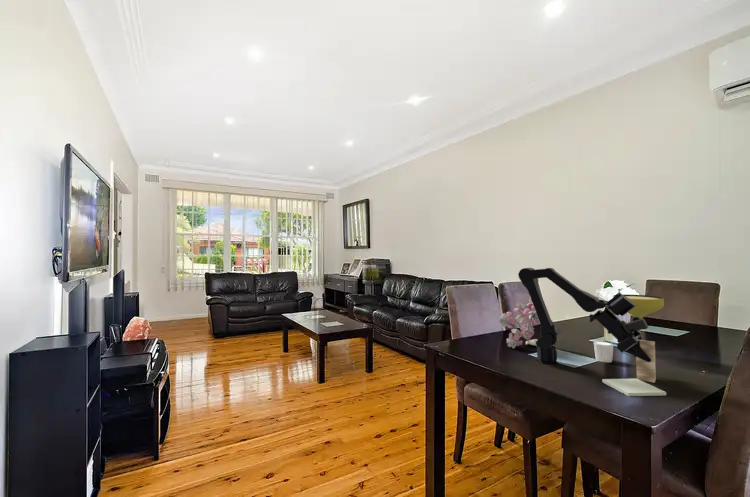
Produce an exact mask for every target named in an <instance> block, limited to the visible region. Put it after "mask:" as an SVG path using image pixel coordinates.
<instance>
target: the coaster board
mask: <svg viewBox="0 0 750 497" xmlns="http://www.w3.org/2000/svg"><path fill="white" fill-rule="evenodd" d="M601 380H602V383H603V384H605V385H607V386H608V387H610V388H613V389H614V390H616V391H618V392H620V393H621V394H623V393H624V394H623V395H625V396H628V397H644V396H645V397H647V396H649V397H655V396H661V397H662V396H667V391H664V390H663V389H660V388H658V387H656V386H655V385H652V384H649V383H647V382H646V381H642V380H639V379H637V378H603V379H601Z"/></svg>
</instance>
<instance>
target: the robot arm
mask: <svg viewBox="0 0 750 497" xmlns="http://www.w3.org/2000/svg"><path fill="white" fill-rule="evenodd" d="M517 274H518V279H519V280H520V282H521V283H522V285H523V286H524V287H525V289H526V290H527V292H528V294H529V298H530V297H531V300H532V303H533V305H534V308H535V311H536V313H537V316H538V319H539V331H540V336H541V337H540V338H539V339H537V340H538V341H536V345H537V346H536V355H537V357H535V360H537V361H538V362H540V363H542V364H558V363H559V361H558V351H557V349H556V348H557V347H556V346H555V345H556V344H557V342H559V341H560V340H561V338H562V333H563V332H562V330H561V329H560V325H559V323H558V322H556V323H555V322H554V321H553V320H552V318H551V316H550V314H549V310H548V308H547V306H546V303H545V300H544V298H543V295H542V293H541V290H540V287H539V279H544V278H546V279H548V280H550V281H551V282H552V283H554V284H555V285H556V286H557V287H559V288H560V289H561V290H562V291H563V292H565V293H566V294H568V295H569V296H570V297H572V299H573V300H574V301H575V303H576V304H577V305H578V306H579V307H580V308H581V309H582V310H583V311H585V312H587V313H590V314H589V322H590V323H593V321H595V320H596V321H597V322H598V323H599V324H600V325H601V326H602V327H603V328H604V329H605V330H607V334H609V335H610V334H611V336H612V337H613V338H615V339H616V342H617V344H616V349H617V350H618V351H620V353H624V352H627V353H629V354H631V355H634V356H633V357H635V358H636V357H638V358H640V359H643V360H645V361H647V362H650V361H651V359H650V358H649V356H648V355H647V354H646V353H645V352H644V350H643V349H642V348H641V347H640V340H643V335H642V332H641V330H647V329H648V328H649V325H648V324H647V322H646V320H645V318H644V317H643V318H639V317H638V316H637V317H633V316H632V321H629V322H626V321H625V320H621V319H620V318H618V317H617V316H621V317H623V316H625V315H627V314H628V313H627V312H629V311H630V310H631V309H633V308H634V307H635V306H636V305H635V304H634V303H633V302H632V301H631V300H630V299H629V298H627V297H625V296H624V295H625V294H622V293H621V292H617V293H616V294H614V295H615V296H614V295H613V296H614V297H613V296H612V298H610V299H609V300H604V299H600V298H599V297H597V296H596V295H593V294H591V293H589V292H587V291H585V290H582V289H580V288H579V287H578V286H576V285H575V284H574V283H572V282H571V281H569V280H568V279H567V278H566V277H564V276H563V275H561V274H560V273H559V272H557V271H556V270H555V268H553V267H546V268H540V269H539V268H538V269H535V268H533V267H524V268H521V269H520V270H519V271H518V273H517ZM606 306H607V307H606ZM604 308H605V309H604ZM601 309H604V310H601ZM595 311H596V312H595ZM593 312H594V314H593ZM638 335H639V337H637V336H638ZM638 340H639V341H638ZM631 355H630V356H631Z"/></svg>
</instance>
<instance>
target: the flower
mask: <svg viewBox="0 0 750 497" xmlns="http://www.w3.org/2000/svg"><path fill="white" fill-rule="evenodd" d="M525 302H526V300H525V299H524V300H523V302H522V301H521V302H516V304H515V305H516V307H515V308H514V309H513V312H512V311H507V312H504V313H502V314H501V316H498V317H497V318H498V321H497V322H498V324H500V326H501V327H502V328H503V327H506V328H508V329H511V330H510V331H511V332H509V334H508V338H506V344H507V347H509V348H511V349H516V346H517V347H518V346H523V342H524V341H523V340H520V338H524V339H525V340H526V341H525V345H530V346H536V347H537V345H536V341H538V340H539V339H537V338H534V339H531V338H532V337H533V336H535V333H536V332H535V331H534V330H535V328H534V326H538V325H540V321H539V319H538V316H537V313H536V311H535V308H534V305H533V303H532V300H531V297H530V296H529V299H528V303H525ZM513 313H514V314H516V313H518V315H517V316H516V317H514V316H513ZM524 322H525V323H524ZM522 323H524V324H523V325H522V326H521V324H522ZM516 324H517V326H518V327H519V329H517V328H514V326H513V325H516Z"/></svg>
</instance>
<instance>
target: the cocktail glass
mask: <svg viewBox="0 0 750 497" xmlns="http://www.w3.org/2000/svg"><path fill="white" fill-rule="evenodd" d="M615 295H616V294H614V295H613V296H612V298H613V297H614V296H615ZM623 295H624V296H625V297H627V298H629V299H630V300H631V301H632V302H633V303H634V304H635V305H636V306H635V307H634V308H633V309H631V310H630V311H629V312H627V313H626V314H629V315H631V316H632V318H633V317H637V316H638V317H639V318H644V317H645V316H648V315H649V314H652V313H656V312H658V311H660V310H662V309H663V308H664V307H665V306H664V305H665V300H664V298H663V297H661V296H656V295H655V296H654V295H646V294H623ZM637 337H640V335H638V336H637ZM623 353H624V354H625V355H628V356H631V357H635V356H634V355H631V354H629V353H627V352H623Z"/></svg>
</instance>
